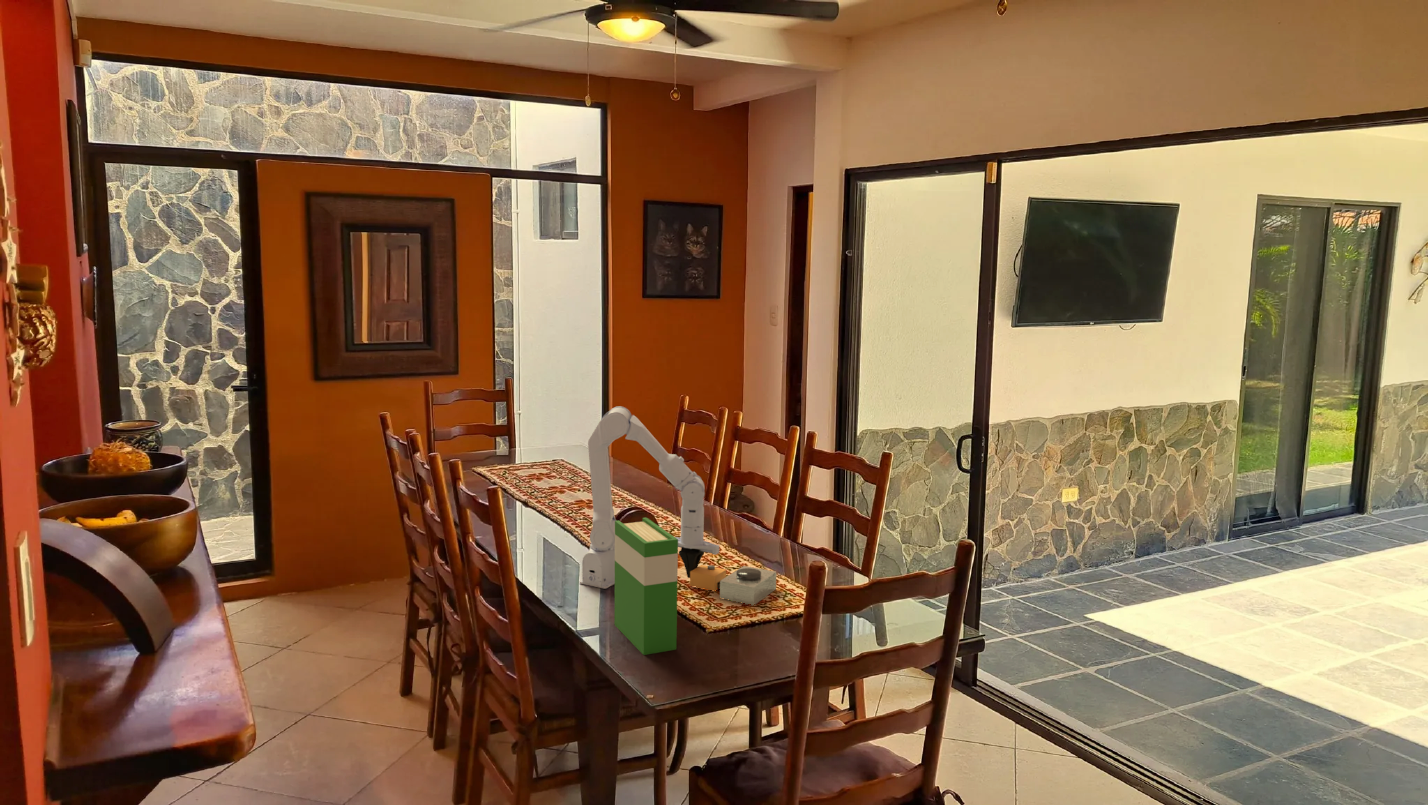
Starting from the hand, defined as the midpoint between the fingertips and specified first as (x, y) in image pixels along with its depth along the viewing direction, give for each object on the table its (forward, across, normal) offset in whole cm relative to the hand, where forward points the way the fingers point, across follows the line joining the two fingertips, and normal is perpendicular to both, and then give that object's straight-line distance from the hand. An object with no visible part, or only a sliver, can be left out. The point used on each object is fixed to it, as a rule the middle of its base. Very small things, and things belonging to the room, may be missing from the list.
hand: (691, 577), depth 244 cm
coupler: (+1, -13, 0) cm, 13 cm away
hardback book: (+2, -8, +35) cm, 36 cm away
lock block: (+1, -5, 0) cm, 5 cm away
